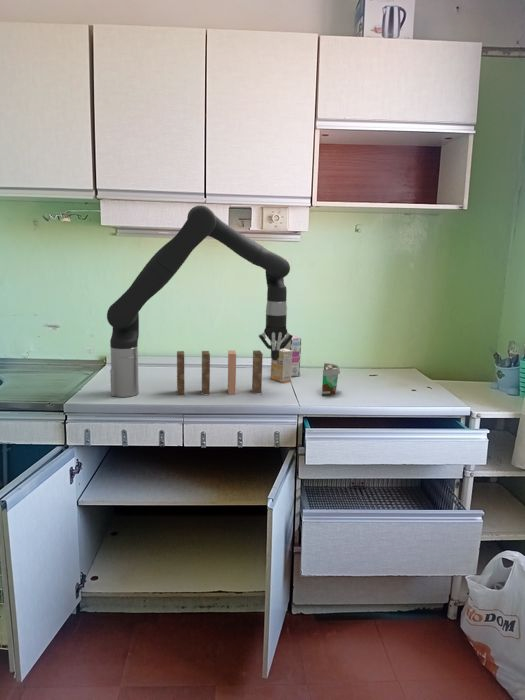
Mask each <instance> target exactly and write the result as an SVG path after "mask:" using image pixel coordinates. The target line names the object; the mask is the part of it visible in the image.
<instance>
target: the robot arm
mask: <svg viewBox="0 0 525 700" xmlns="http://www.w3.org/2000/svg"><path fill="white" fill-rule="evenodd" d="M186 217H187V218H186V219H187V220H186V221H185V223H184V224H183V225H182V227H181V228H180V230H178V232H177V233H176V234H175V236H173V238H172V239H170V240H169V241H168V242H166V243H165V244H164V245H163V246H162V247H161V248H159V250H157V251H156V253H154V255H153V256H152V257H151V258H150V259H149V261H148V262H147V263H146V264H145V266H144V267H142V270H140V272H139V273H138V275H137V276H136V277H135V279H134V280H133V282H132V284H131V285H130V286H129V287H128V288H127V289H126V290H125V292H124V293H122V294H121V296H120V297H119V298H118V299H116V300H115V301H114V302H113V303H112V304H111V305H110V306H109V308H108V309H107V313H106V320H107V322H108V324H109V325H110V327H112V332H111V337H110V339H109V341H110V342H109V343H110V344H109V346H110V348H109V349H110V370H109V373H110V396H111V397H118V398H129V397H134V396H137V395H138V394H139V392H140V391H139V384H140V383H139V349H138V348H139V346H138V345H139V343H138V342H139V336H140V318H139V317H140V316H139V315H140V314H139V312H140V311H141V309H142V308H143V307H144V306H145V304H146V303H147V302H148V301H149V300H150V299H151V298H152V297H153V296H155V295H156V294H157V293H159V291H161V290H162V289H163V288H164V287H165V286H166V285H167V284H168V283H169V282H170V280H171V279H172V278H173V277H174V276H175V274H177V272H178V271H179V270H180V268H181V267H182V266H183V264H185V262H186V261H187V259H188V257H189V256H190V255H191V254H192V252H193V251H194V250H195V249H196V248H197V246H198V245H200V244H201V243H202V242H203V241H204V240H205V239H206V238H207V237H210V238H213V239H215V240H216V241H218V242H220V243H221V244H223V245H224V246H226V247H227V248H228V249H230V250H231V251H232V252H234V253H235V254H237V255H238V256H240V258H242V259H244V260H246V261H247V262H248V263H251V264H252V265H255V266H257V267H260V268H262V269H263V270H264V271H265V279H266V286H267V293H266V307H265V328H264V331H263V332H262V333H261V334H260V333H259V334H258V338H259V340H260V341H261V342H262V343H263V344H264V346H265V347H266V348H267V349H268V350H270V358H272V359H273V360H277V359H279V350H280V349H284V348H285V346H286V345H287V344H288V343H289V341H290V340H291V339H292V338H293V336H294V335H293V334H290V333H289V332H288V329H287V314H288V313H287V311H288V306H287V297H288V296H287V293H288V292H287V286H286V285H285V282H284V281H285V280H284V278H285V277H287V276H288V275H289V273H290V271H291V265H290V263H289V261H288V260H287V259H286V258H284V257H282V256H280V255H278V254H277V253H276V252H273V251H271V250H268V249H267V248H266V247H264V246H263V245H261V244H259V243H258V242H256V241H255V240H254V239H251V238H250V237H248V236H246V235H245V234H243V233H242V232H239V231H238V230H236V229H234V228H232V227H231V226H229V225H228V224H227V223H225V222H224V221H222V220H221V219H220V218H219V217H218V215H217V216H216V214H215V213H214V211H213V210H211V209H210V208H209V207H207V206H205V205H196V206H195V205H194V207H192V208H191V209H190V210H189V211H188V213H187V216H186ZM285 335H286V336H285ZM292 335H293V336H292ZM284 336H285V340H284V341H283V342H282V343H281V340H282V339H283V338H284ZM266 338H267V339H268V340H269V342H270V344H269V343H268V341H267V340H266Z"/></svg>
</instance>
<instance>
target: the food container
mask: <svg viewBox="0 0 525 700" xmlns="http://www.w3.org/2000/svg"><path fill="white" fill-rule="evenodd" d="M340 374H341V370H340V366H338V365H337V364H334V363H326V362H324V364H323V369H322V385H321V388H322V389H321V396H322V397H325V396H334V395H336V393H337V387H338V377H339V375H340Z"/></svg>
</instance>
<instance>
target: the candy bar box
mask: <svg viewBox="0 0 525 700" xmlns="http://www.w3.org/2000/svg"><path fill="white" fill-rule="evenodd" d="M291 335H292V336H293V338H292V339H291V340H290V341H289V343H288V344H287V345H286V346H285V349H288V350H292V351H293V353H292V373H291V378H297V377H298V378H299V377H300V371H301V369H300V368H301V367H300V366H301V351H302V350H301V349H302V338H300V337H297V336H295V335H293V334H291ZM285 336H286V335H285ZM285 336H284V338H283V339H282V340H281V343H282V342H283V341H284V340H285Z"/></svg>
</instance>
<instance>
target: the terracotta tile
mask: <svg viewBox="0 0 525 700" xmlns="http://www.w3.org/2000/svg"><path fill="white" fill-rule="evenodd" d="M227 352H228V353H227V354H228V355H227V393H229V394H228V395H236V387H237V386H236V385H237V384H236V383H237V381H236V380H237V379H236V378H237V377H236V375H237V352H236V350H228V351H227Z"/></svg>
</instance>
